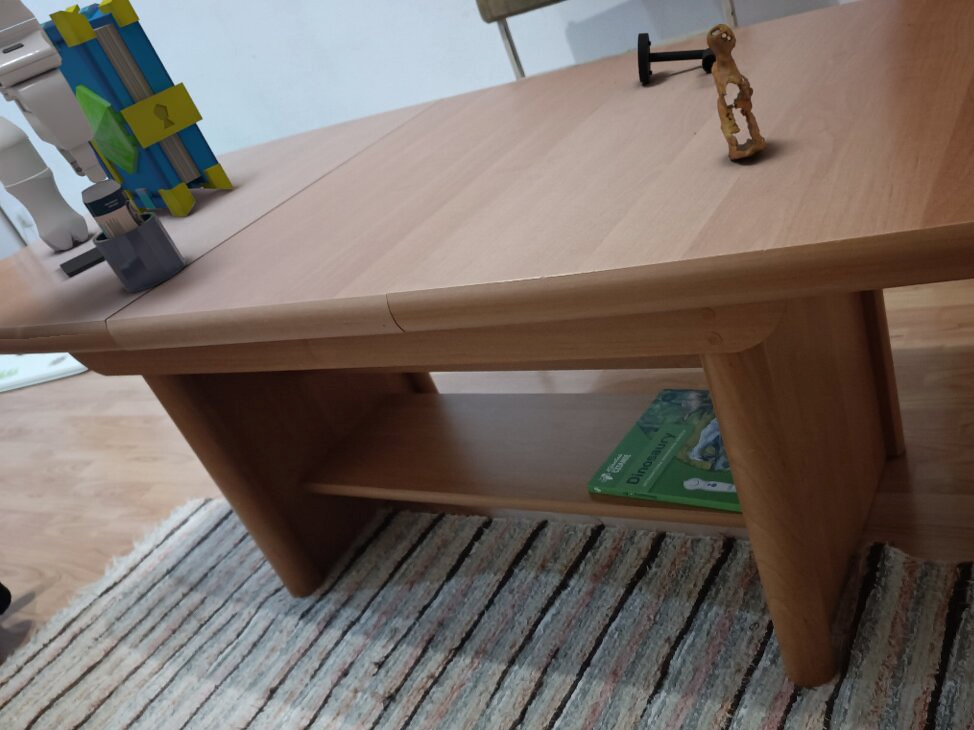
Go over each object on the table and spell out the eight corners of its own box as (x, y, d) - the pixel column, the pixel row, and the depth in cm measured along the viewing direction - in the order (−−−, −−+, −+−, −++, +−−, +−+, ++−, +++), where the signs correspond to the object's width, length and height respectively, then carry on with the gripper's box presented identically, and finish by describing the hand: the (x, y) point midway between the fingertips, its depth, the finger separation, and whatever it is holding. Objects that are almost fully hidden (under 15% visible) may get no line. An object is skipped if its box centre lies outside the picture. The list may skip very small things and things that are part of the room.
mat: (70, 277, 125) (67, 273, 125) (61, 268, 131) (59, 264, 131) (122, 251, 128) (119, 247, 128) (112, 243, 134) (109, 240, 134)
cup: (133, 297, 108) (98, 246, 104) (121, 285, 114) (87, 237, 110) (192, 266, 111) (161, 215, 107) (177, 256, 117) (146, 208, 113)
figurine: (776, 138, 85) (753, 8, 78) (764, 162, 81) (738, 28, 74) (731, 146, 87) (704, 20, 80) (717, 170, 83) (687, 40, 76)
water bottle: (59, 256, 138) (-55, 99, 124) (46, 252, 143) (-64, 101, 129) (100, 234, 141) (-5, 79, 127) (87, 231, 146) (-16, 82, 132)
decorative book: (177, 223, 132) (47, 15, 114) (114, 222, 146) (-9, 36, 129) (251, 181, 139) (140, -21, 122) (185, 183, 154) (77, 3, 136)
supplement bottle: (179, 264, 112) (123, 175, 105) (149, 283, 109) (89, 193, 102) (159, 264, 115) (103, 178, 108) (130, 282, 112) (70, 195, 105)
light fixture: (720, 50, 103) (721, 22, 113) (631, 56, 104) (640, 28, 114) (720, 101, 106) (721, 70, 116) (635, 106, 108) (642, 74, 118)
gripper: (-22, 72, 103) (55, 181, 111) (-6, 71, 88) (81, 197, 96) (30, 51, 105) (102, 160, 113) (55, 46, 90) (135, 172, 98)
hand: (93, 177), depth 105 cm, fingers open, 8 cm apart
